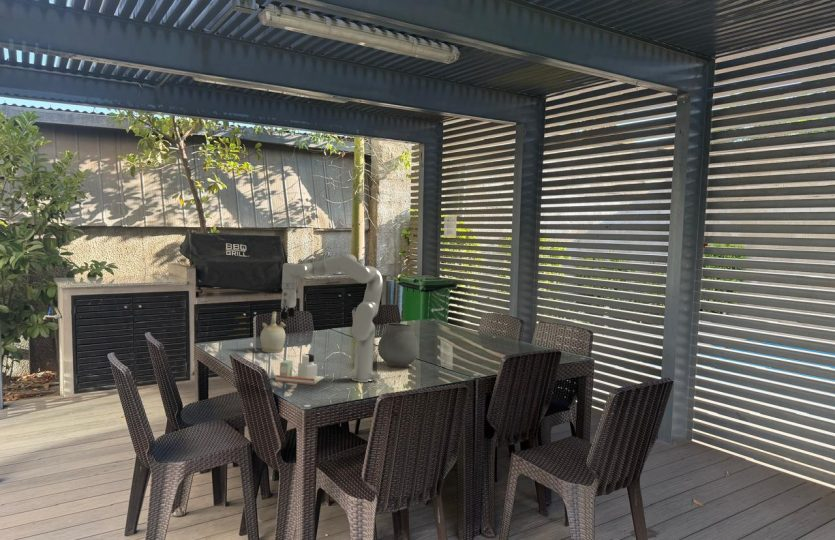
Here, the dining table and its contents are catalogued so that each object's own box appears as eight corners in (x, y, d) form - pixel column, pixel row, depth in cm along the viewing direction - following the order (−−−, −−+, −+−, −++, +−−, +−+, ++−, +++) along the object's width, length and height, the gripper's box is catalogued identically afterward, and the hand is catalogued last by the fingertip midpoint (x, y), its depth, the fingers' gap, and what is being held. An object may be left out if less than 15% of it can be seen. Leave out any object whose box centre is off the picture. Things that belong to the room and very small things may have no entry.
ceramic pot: (425, 365, 342) (428, 324, 341) (404, 373, 322) (406, 329, 320) (391, 359, 355) (393, 319, 353) (368, 365, 334) (371, 323, 332)
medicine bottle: (308, 375, 305) (309, 352, 304) (316, 377, 300) (318, 355, 300) (297, 377, 299) (298, 354, 299) (306, 380, 295) (307, 356, 294)
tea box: (291, 378, 297) (292, 360, 296) (286, 380, 291) (287, 363, 290) (284, 377, 298) (285, 360, 297) (279, 380, 292) (280, 362, 291)
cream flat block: (324, 377, 303) (324, 371, 303) (313, 385, 286) (313, 379, 286) (288, 373, 306) (289, 368, 306) (275, 381, 289) (275, 375, 289)
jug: (288, 349, 367) (289, 310, 365) (280, 354, 351) (281, 313, 350) (265, 347, 368) (266, 309, 366) (255, 352, 353) (257, 312, 351)
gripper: (289, 288, 298) (288, 320, 299) (301, 285, 315) (300, 316, 316) (275, 286, 299) (274, 319, 300) (288, 284, 316) (287, 315, 317)
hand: (287, 317), depth 308 cm, fingers open, 9 cm apart
